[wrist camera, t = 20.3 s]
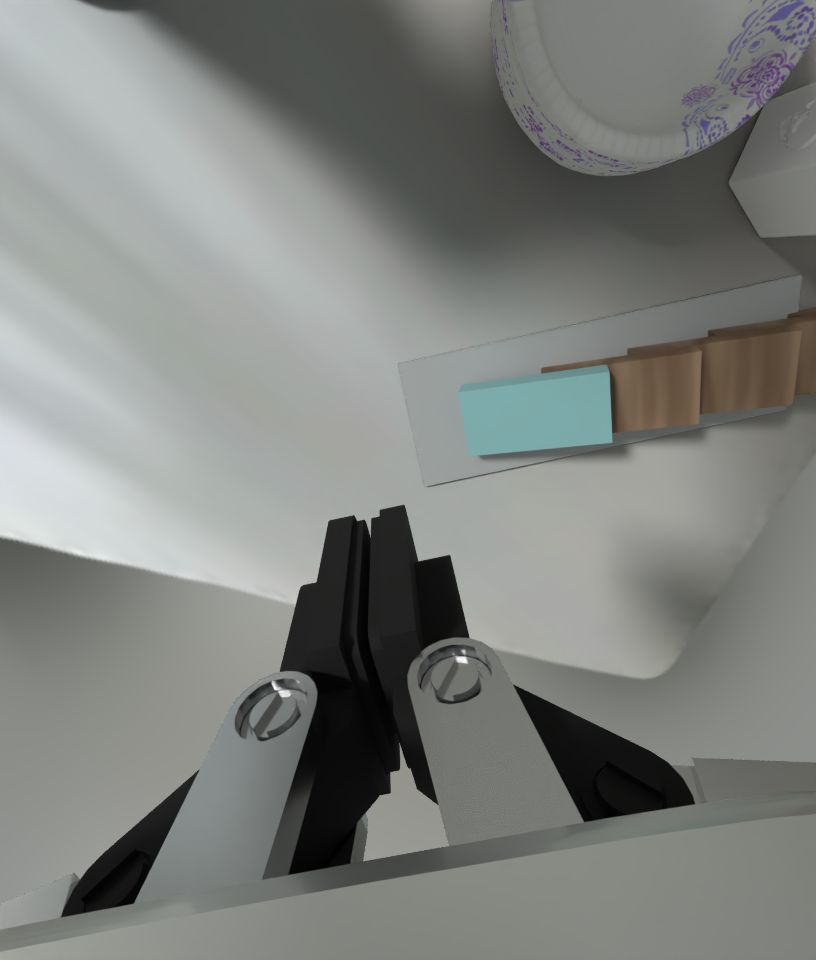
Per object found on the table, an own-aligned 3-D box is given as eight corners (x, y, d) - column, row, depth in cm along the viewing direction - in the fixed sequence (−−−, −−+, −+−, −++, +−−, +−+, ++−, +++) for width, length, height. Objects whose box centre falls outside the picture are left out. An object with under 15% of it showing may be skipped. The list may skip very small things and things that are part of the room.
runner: (423, 484, 40) (424, 486, 40) (397, 363, 36) (398, 364, 36) (782, 408, 39) (786, 410, 39) (798, 274, 35) (802, 274, 34)
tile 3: (631, 421, 36) (792, 404, 33) (630, 354, 34) (801, 330, 31) (628, 413, 38) (782, 396, 35) (627, 348, 36) (790, 324, 33)
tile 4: (711, 403, 36) (881, 385, 33) (715, 335, 34) (896, 308, 31) (705, 396, 38) (866, 378, 35) (708, 330, 36) (880, 304, 33)
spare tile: (469, 456, 37) (612, 442, 34) (457, 392, 35) (609, 371, 32) (472, 446, 38) (609, 432, 35) (461, 385, 36) (606, 364, 33)
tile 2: (547, 439, 37) (698, 424, 34) (541, 374, 35) (701, 351, 32) (547, 430, 38) (692, 415, 35) (541, 367, 36) (694, 345, 33)
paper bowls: (494, -170, 25) (540, -342, 18) (776, -137, 26) (927, -288, 19) (465, 177, 31) (490, 153, 24) (693, 192, 32) (783, 173, 25)
